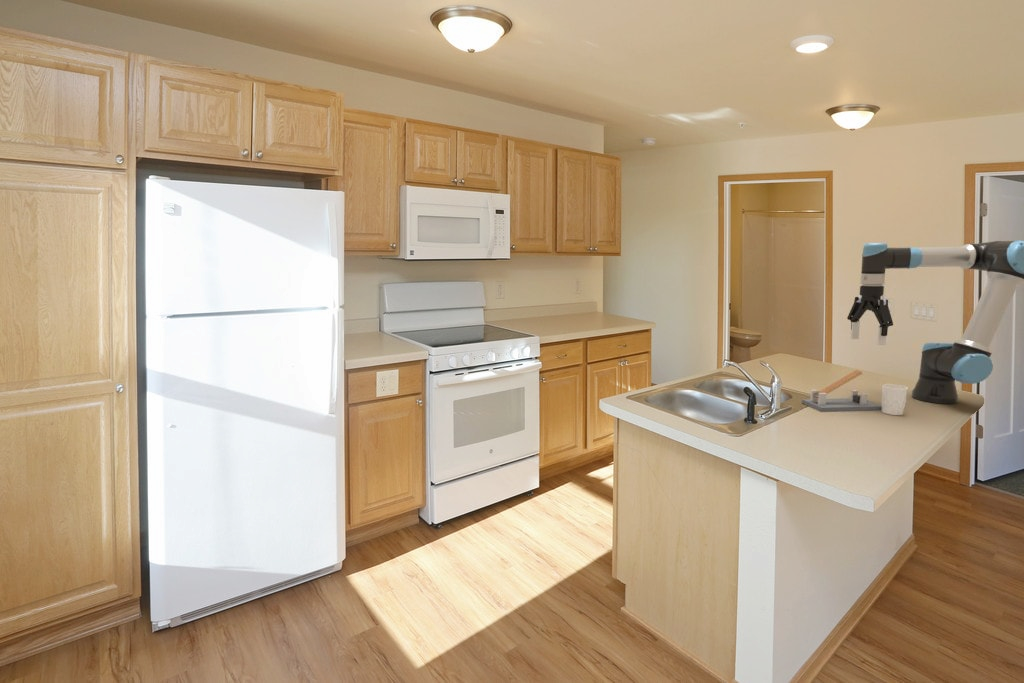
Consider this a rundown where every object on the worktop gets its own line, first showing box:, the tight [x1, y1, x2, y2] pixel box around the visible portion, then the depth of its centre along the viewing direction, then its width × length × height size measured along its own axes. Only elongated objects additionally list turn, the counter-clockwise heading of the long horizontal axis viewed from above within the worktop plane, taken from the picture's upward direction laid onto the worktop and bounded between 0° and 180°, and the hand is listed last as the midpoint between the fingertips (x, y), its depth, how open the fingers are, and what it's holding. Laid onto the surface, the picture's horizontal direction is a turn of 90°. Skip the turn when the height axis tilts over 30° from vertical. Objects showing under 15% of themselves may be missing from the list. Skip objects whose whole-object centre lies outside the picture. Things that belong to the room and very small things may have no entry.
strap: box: [814, 369, 863, 398], centre depth 219 cm, size 19×3×1 cm
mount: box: [801, 389, 882, 413], centre depth 220 cm, size 25×12×6 cm, turn 96°
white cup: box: [880, 383, 909, 416], centre depth 212 cm, size 8×8×10 cm
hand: (867, 341), depth 218 cm, fingers open, 13 cm apart
